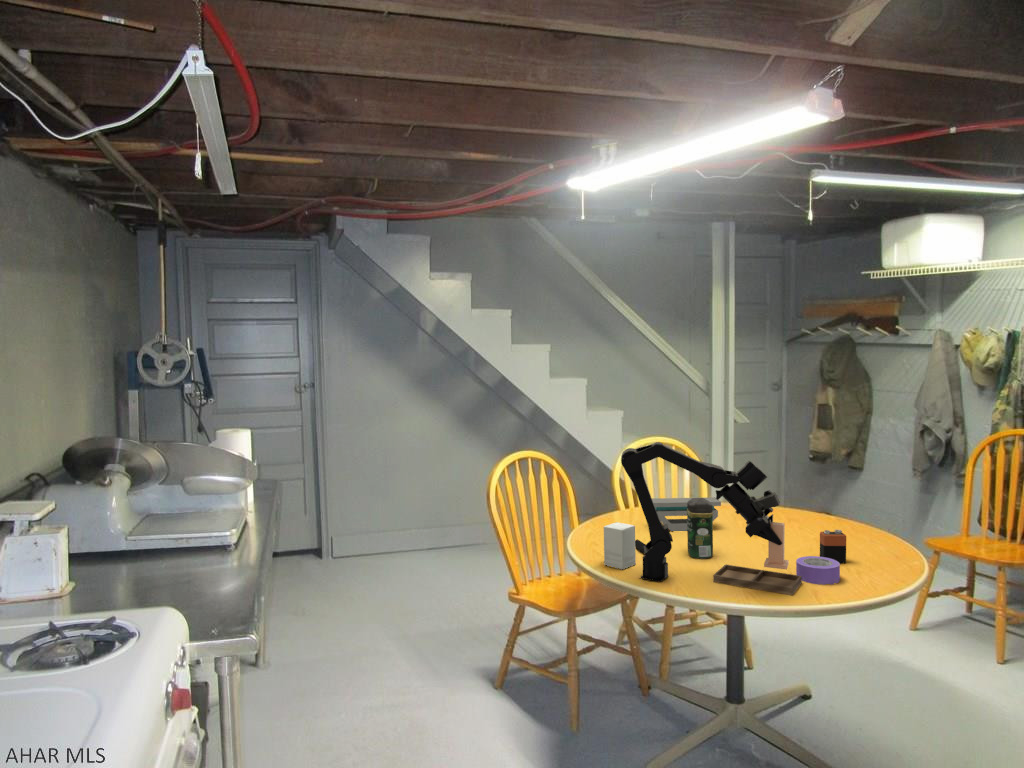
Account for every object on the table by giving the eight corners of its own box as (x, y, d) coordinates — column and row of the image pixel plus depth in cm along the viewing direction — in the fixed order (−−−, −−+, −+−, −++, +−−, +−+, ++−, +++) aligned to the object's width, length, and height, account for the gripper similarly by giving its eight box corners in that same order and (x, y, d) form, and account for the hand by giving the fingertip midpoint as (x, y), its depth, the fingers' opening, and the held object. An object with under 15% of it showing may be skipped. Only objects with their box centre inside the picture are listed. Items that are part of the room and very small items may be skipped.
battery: (846, 563, 223) (846, 532, 222) (824, 563, 223) (824, 532, 223) (841, 559, 227) (841, 528, 226) (819, 559, 227) (819, 528, 227)
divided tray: (713, 581, 208) (713, 575, 208) (725, 570, 218) (725, 564, 217) (792, 595, 195) (792, 588, 195) (801, 582, 205) (801, 576, 205)
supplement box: (636, 564, 225) (636, 525, 224) (622, 570, 220) (622, 529, 219) (617, 560, 230) (617, 521, 230) (603, 565, 225) (602, 525, 224)
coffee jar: (685, 550, 239) (685, 496, 238) (709, 551, 239) (709, 496, 238) (689, 559, 230) (689, 502, 229) (715, 559, 229) (714, 502, 228)
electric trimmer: (642, 547, 246) (642, 538, 246) (660, 559, 231) (659, 550, 231) (632, 548, 245) (631, 539, 245) (649, 560, 230) (648, 551, 230)
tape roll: (804, 585, 204) (804, 567, 204) (790, 572, 216) (790, 555, 216) (846, 585, 204) (846, 567, 203) (830, 572, 215) (830, 555, 215)
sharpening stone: (714, 525, 272) (714, 497, 271) (721, 530, 264) (720, 501, 264) (649, 526, 272) (649, 498, 271) (653, 532, 264) (653, 503, 263)
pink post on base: (764, 567, 202) (764, 525, 201) (766, 561, 207) (766, 520, 207) (786, 569, 199) (786, 527, 199) (788, 563, 205) (788, 522, 204)
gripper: (758, 489, 195) (801, 532, 191) (765, 477, 212) (805, 517, 208) (728, 515, 199) (770, 558, 195) (738, 501, 216) (776, 541, 212)
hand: (781, 542), depth 202 cm, fingers closed on pink post on base, 3 cm apart
